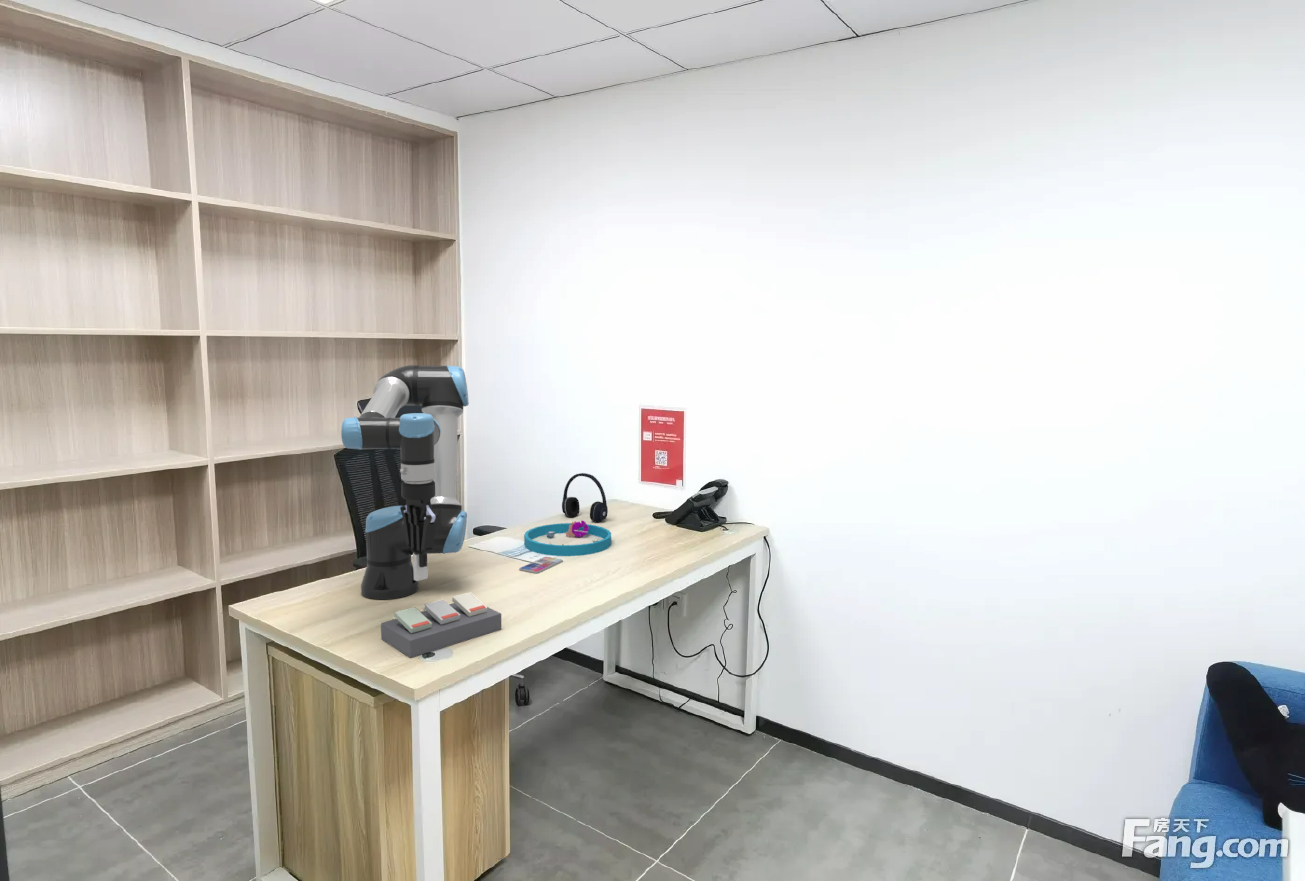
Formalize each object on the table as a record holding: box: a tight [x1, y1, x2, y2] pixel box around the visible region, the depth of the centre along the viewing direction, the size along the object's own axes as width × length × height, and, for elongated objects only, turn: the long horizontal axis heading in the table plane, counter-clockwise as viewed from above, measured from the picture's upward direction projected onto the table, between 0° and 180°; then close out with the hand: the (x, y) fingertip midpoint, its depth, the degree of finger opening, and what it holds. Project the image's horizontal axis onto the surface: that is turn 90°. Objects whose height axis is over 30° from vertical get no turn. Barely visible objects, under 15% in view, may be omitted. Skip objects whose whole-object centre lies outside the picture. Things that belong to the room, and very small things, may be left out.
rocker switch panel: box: [380, 602, 502, 659], centre depth 179 cm, size 19×24×5 cm
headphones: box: [561, 472, 609, 523], centre depth 290 cm, size 20×7×18 cm, turn 57°
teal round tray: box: [523, 520, 612, 557], centre depth 257 cm, size 30×30×6 cm
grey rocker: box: [423, 599, 460, 625], centre depth 177 cm, size 8×5×1 cm, turn 46°
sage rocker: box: [394, 606, 432, 633], centre depth 171 cm, size 8×5×1 cm, turn 46°
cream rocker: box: [451, 591, 488, 617], centre depth 182 cm, size 8×5×1 cm, turn 46°
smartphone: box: [518, 556, 564, 575], centre depth 232 cm, size 7×1×15 cm
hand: (420, 578), depth 174 cm, fingers closed
